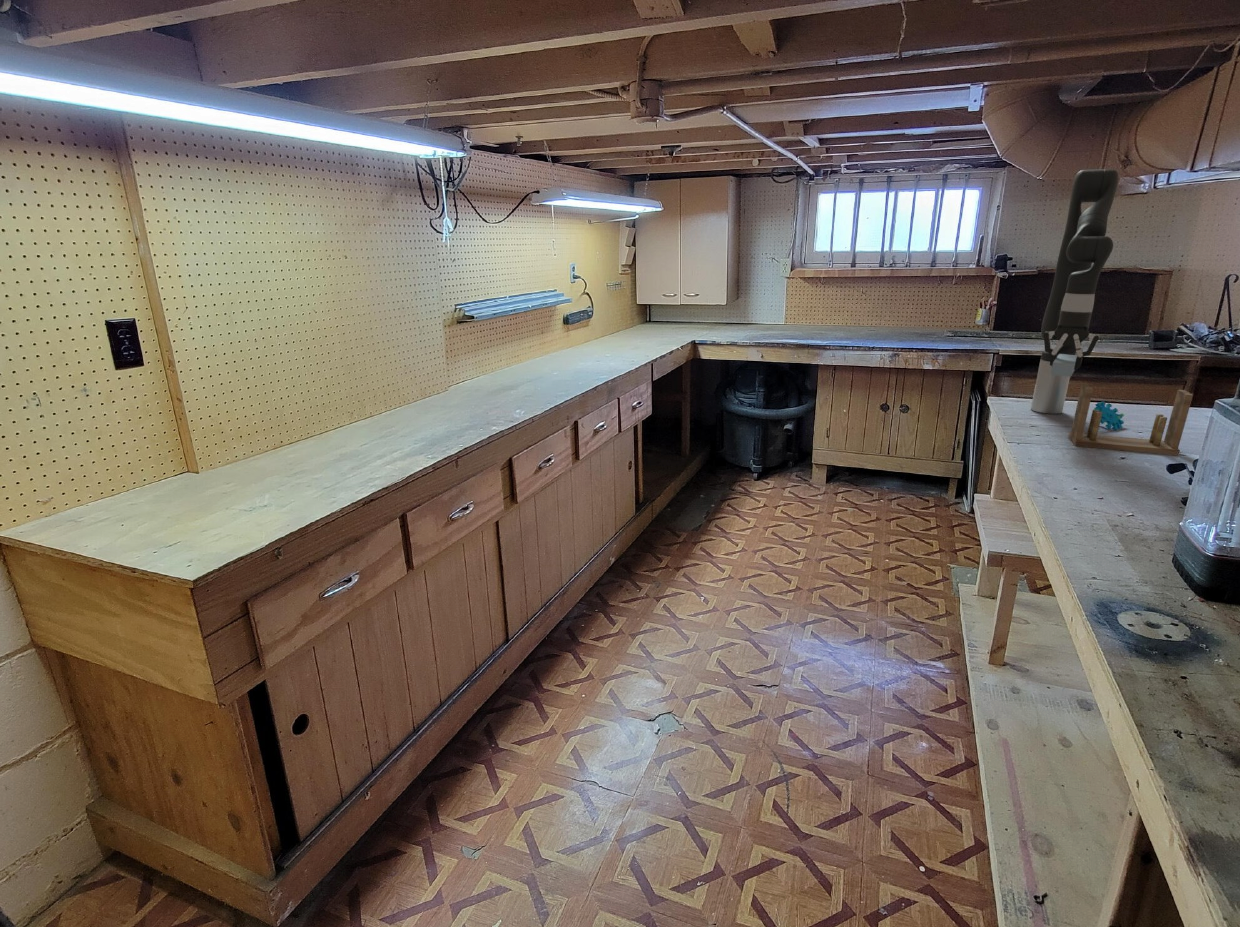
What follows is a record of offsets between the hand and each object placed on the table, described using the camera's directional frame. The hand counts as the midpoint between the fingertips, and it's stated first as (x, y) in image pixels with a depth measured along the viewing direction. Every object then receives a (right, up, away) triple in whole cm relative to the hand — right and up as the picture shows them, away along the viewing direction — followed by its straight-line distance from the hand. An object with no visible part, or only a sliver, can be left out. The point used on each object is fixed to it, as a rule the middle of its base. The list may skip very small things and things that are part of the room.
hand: (1064, 368), depth 196 cm
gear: (+21, -17, +11) cm, 29 cm away
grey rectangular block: (0, -1, 0) cm, 1 cm away
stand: (+11, -23, -7) cm, 27 cm away
